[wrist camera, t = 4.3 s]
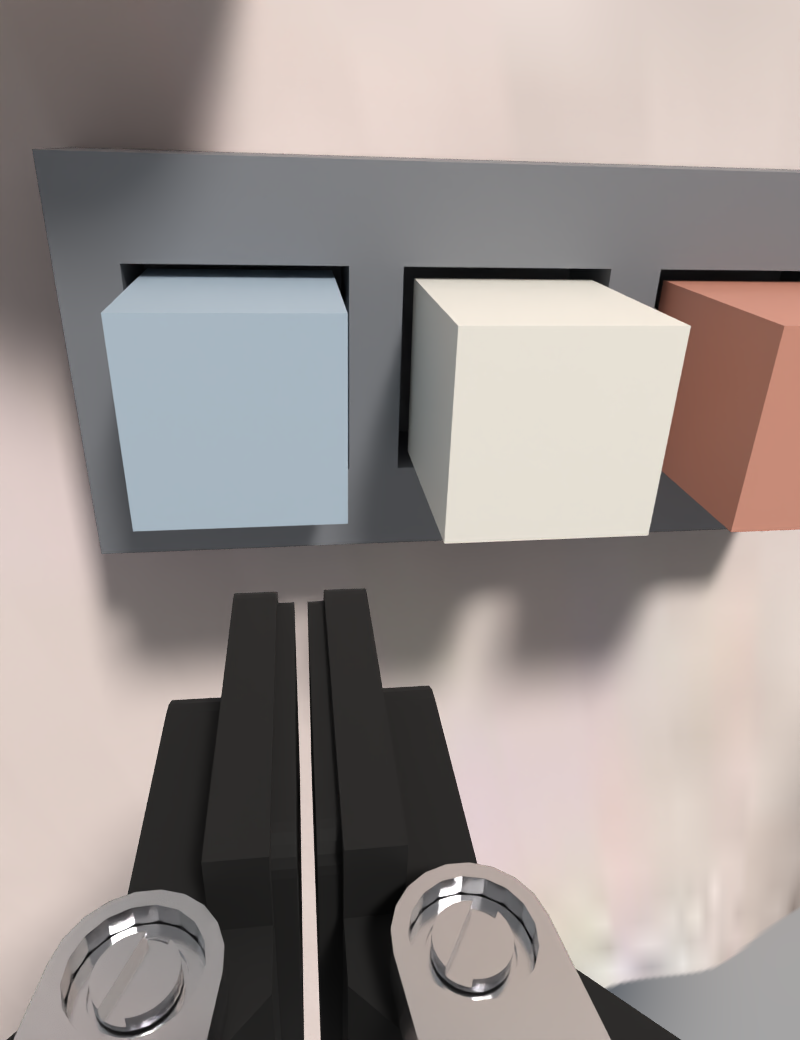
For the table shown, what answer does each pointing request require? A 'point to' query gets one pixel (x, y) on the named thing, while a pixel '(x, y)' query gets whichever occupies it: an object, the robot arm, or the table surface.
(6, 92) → the table surface
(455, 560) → the table surface
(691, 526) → the console
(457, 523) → the key ivory
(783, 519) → the key brick
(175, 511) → the key blue
